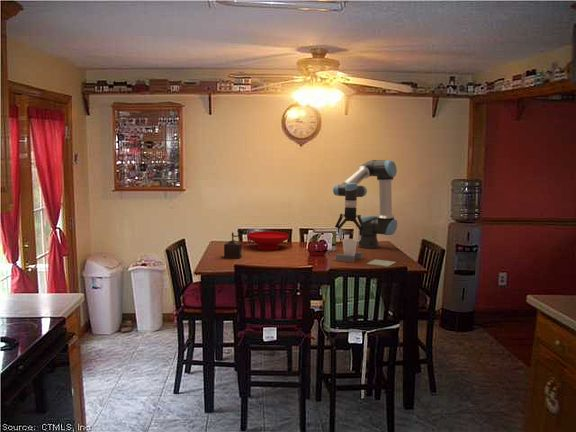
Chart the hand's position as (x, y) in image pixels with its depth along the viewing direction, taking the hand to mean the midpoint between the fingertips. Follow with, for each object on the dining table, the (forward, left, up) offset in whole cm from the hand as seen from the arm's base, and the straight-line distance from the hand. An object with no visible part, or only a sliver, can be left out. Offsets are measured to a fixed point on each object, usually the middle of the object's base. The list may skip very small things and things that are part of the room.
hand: (349, 239), depth 340 cm
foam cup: (0, 0, -14) cm, 14 cm away
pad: (0, +22, -13) cm, 26 cm away
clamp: (0, 0, -13) cm, 13 cm away
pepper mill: (+33, -69, -14) cm, 77 cm away
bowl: (-7, -68, -14) cm, 70 cm away
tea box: (-22, -30, -14) cm, 40 cm away
